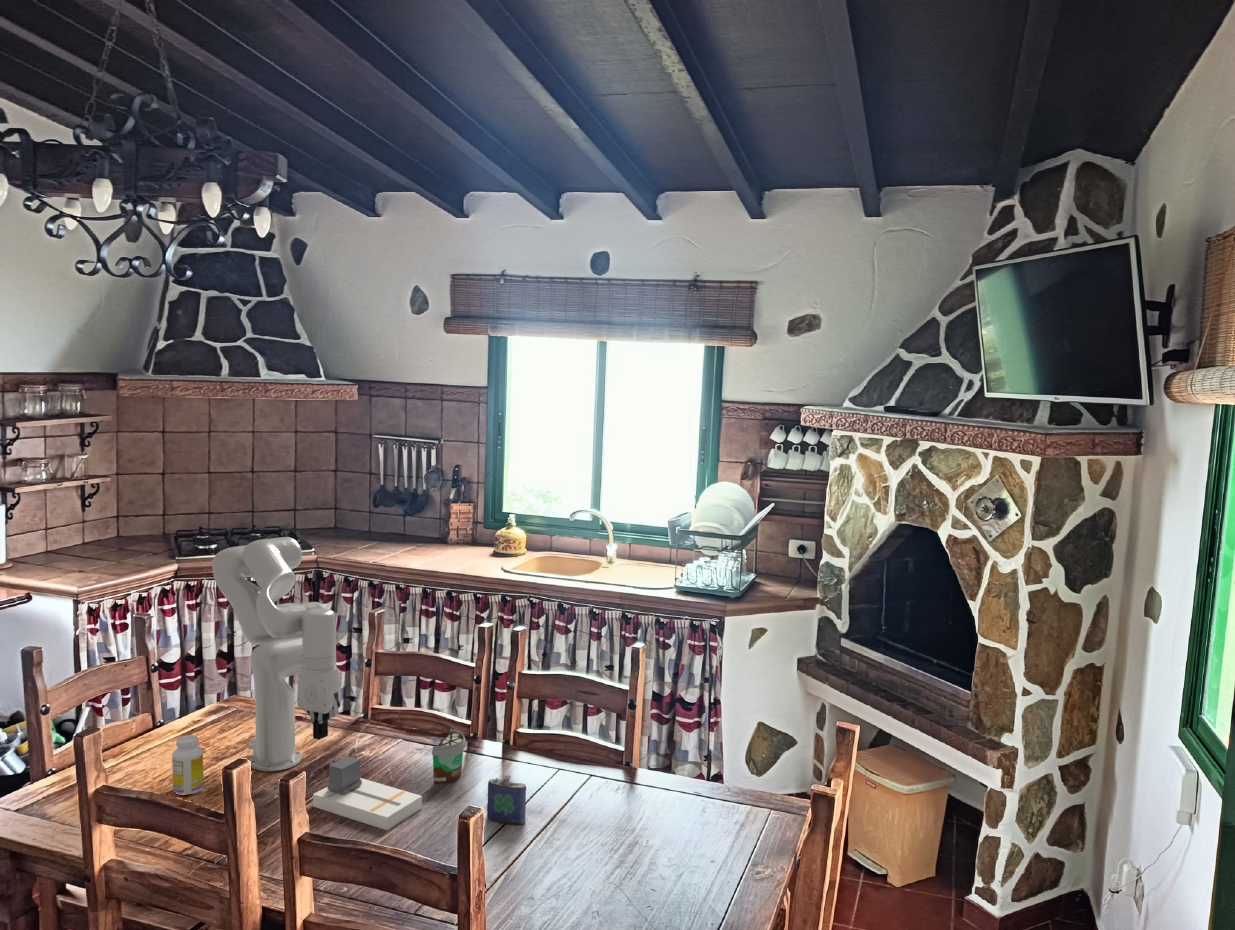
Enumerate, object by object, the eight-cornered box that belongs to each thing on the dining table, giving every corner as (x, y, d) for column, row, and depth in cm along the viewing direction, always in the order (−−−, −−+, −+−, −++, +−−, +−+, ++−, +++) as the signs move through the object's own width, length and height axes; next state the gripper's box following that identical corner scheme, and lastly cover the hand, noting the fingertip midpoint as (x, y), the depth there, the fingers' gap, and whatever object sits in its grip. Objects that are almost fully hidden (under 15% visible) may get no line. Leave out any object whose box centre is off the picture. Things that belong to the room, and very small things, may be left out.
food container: (455, 789, 227) (455, 749, 226) (431, 786, 228) (431, 747, 227) (472, 768, 239) (473, 730, 238) (450, 765, 240) (450, 728, 239)
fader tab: (327, 789, 218) (327, 764, 217) (345, 779, 223) (345, 755, 222) (343, 794, 216) (343, 769, 215) (361, 784, 221) (361, 760, 220)
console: (313, 806, 216) (313, 793, 216) (349, 786, 227) (349, 774, 226) (387, 830, 206) (387, 817, 206) (421, 808, 217) (421, 795, 217)
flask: (527, 821, 212) (527, 776, 211) (522, 827, 210) (523, 781, 208) (489, 814, 215) (490, 770, 214) (484, 820, 212) (484, 775, 211)
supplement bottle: (205, 783, 226) (204, 732, 225) (202, 795, 220) (201, 742, 219) (175, 786, 224) (174, 734, 223) (170, 798, 218) (169, 745, 217)
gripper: (284, 661, 220) (285, 736, 221) (331, 670, 213) (332, 748, 215) (307, 653, 227) (309, 726, 228) (354, 662, 220) (355, 738, 221)
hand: (320, 737), depth 221 cm, fingers closed
